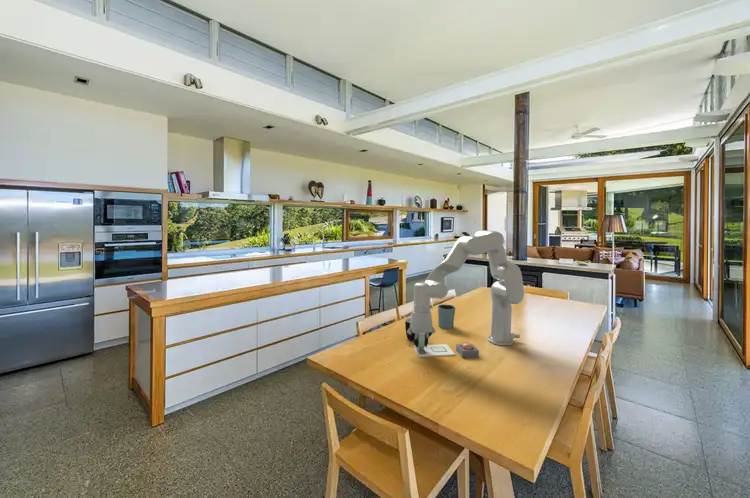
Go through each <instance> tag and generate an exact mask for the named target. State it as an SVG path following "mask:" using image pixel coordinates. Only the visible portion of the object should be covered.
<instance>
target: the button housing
mask: <svg viewBox="0 0 750 498" xmlns="http://www.w3.org/2000/svg"><path fill="white" fill-rule="evenodd" d="M471 344H472V349H469V350H464V349H463V348H462V347H463V343H459V344H455V349H456V350H455V352H457V353H458V355H459V356H460V357H461V358H476V357H478V358H479V355H480V354H479V353H480V350H479V349H478V348H477V347H476V346H475V345H474V344H473V343H471Z"/></svg>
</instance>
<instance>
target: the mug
mask: <svg viewBox="0 0 750 498" xmlns="http://www.w3.org/2000/svg"><path fill="white" fill-rule="evenodd" d="M410 320H411V317H407V318H406V319H405V320H404V321H405V322H404V323H405V324H404V325H405V328H404V329H405V333H406V334H405V335H406V339H407V340H408V341H411V342H412V341H413V342H414V337H413V336H412V335H410V334H408V333H407V330H408V329H409V327H410ZM411 332H412V330H411Z"/></svg>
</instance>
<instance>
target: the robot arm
mask: <svg viewBox="0 0 750 498" xmlns="http://www.w3.org/2000/svg"><path fill="white" fill-rule="evenodd" d="M504 243H505V237H504V235H503V234H502V233H501V232H499V231H495V230H485V229H484V230H483V229H481V230H478V231H477V230H476V231H475V233H474V234H473V236H471V235H462V236H460V237H459V238H457V240H456V241H455V243H454V245H453V246H452V247H451V250H450V251H449V253H448V254H447V256H446V258H445V259H444V260H443V261H441V262H440V263H438V265H437V266H435V267H434V268H433V269H432V271H431V272H429V274H428V275H427V277H426V279H425V281H424V282H416V283H414V285H413V309H412V311H411V312H410V313H411V314H410V318H411V320H410V327H409V329H408V330H407V333H408V334H410V335H412V336H413V337H414V341H413V344H414V345H413V346H416V347H418V339H417V336H418V333H425V347H427V345H429V339H430V337H431V336H432V335H434V334H435V333H436V330H435V328H434V327H433V316H432V311H431V310H432V309H433V305H430V303H431V301H430V300H431V299H435V300H436V299H437V300H438V299H439V300H441V299H443V298H445V297H446V296H447V295H448V292H449V291H448V290H449V289H448V287H447V286H446V285H445V284H444V283H442V281H443V280H444V278H445V277H447V276H448V275H449V274H453V273H456V272H458V271H460V270H461V268H462V267H463V266H464V264H465V262H466V260H467V259H468V257H469V256H470V255H471V256H472V255H473V256H478V255H481V254H486V253H487V258H488V263H489V270H490V274H491V277H492V278H493V279H495V280H497V281H495V282H493V283H492V285H491V286H490V296H491V326H490V327H491V328H490V335H489V336H488V337H487V341H488V342H489V343H491V344H493V345H495V346H496V345H498V346H505V347H506V346H512V345H513V344H514V339H521V338H520V337H521V335H520V333H516V334H515V333H514V332H512V315H513V313H512V310H513V308H512V305H518V304H521V302H522V301H523V300H524V297H525V288H524V281H523V274H522V271H521V268H520V267H519V266H518V265H517V264H515V263H512V262H509V261H508V258H507V257H508V256H507V253H506V249H505V246H504ZM411 330H412V332H411Z"/></svg>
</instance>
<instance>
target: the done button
mask: <svg viewBox="0 0 750 498" xmlns="http://www.w3.org/2000/svg"><path fill="white" fill-rule="evenodd" d="M462 344H463V347H462V348H463V349H464V350H469V349H472V344H473V343H471V342H463V343H462Z"/></svg>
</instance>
